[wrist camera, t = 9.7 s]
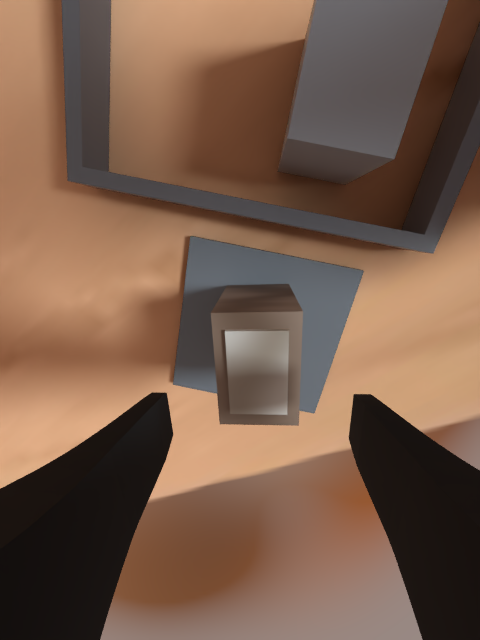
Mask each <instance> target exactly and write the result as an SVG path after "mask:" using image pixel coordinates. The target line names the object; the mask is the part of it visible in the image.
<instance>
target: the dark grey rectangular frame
mask: <svg viewBox="0 0 480 640" xmlns="http://www.w3.org/2000/svg"><path fill="white" fill-rule="evenodd" d="M62 26H63V56H64V87H65V117H66V147H67V177H68V181H71V182H75V183H79V184H83V185H87V186H91V187H95V188H99V189H104V190H109V191H114V192H119V193H124V194H129V195H134V196H139V197H145V198H150V199H155V200H160V201H165V202H170V203H175V204H180V205H185V206H190V207H195V208H200V209H205V210H210V211H215V212H220V213H225V214H230V215H235V216H240V217H245V218H250V219H255V220H260V221H265V222H270V223H275V224H280V225H285V226H290V227H295V228H300V229H305V230H310V231H315V232H320V233H325V234H330V235H335V236H340V237H345V238H350V239H355V240H360V241H365V242H370V243H375V244H380V245H385V246H390V247H396V248H401V249H406V250H412V251H419V252H426V253H434V251H435V248H436V246H437V244H438V241H439V239H440V237H441V234H442V232H443V230H444V227H445V225H446V223H447V220H448V218H449V216H450V213H451V211H452V209H453V206H454V204H455V202H456V199H457V197H458V195H459V192H460V190H461V188H462V185H463V183H464V181H465V178H466V176H467V174H468V171H469V169H470V167H471V164H472V162H473V160H474V157H475V155H476V153H477V150H478V148H479V145H480V23H479V26H478V28H477V31H476V34H475V36H474V39H473V42H472V44H471V47H470V50H469V52H468V55H467V58H466V60H465V63H464V66H463V68H462V71H461V74H460V76H459V79H458V82H457V84H456V87H455V89H454V92H453V95H452V97H451V100H450V103H449V105H448V108H447V111H446V113H445V116H444V119H443V121H442V124H441V127H440V129H439V132H438V135H437V137H436V140H435V143H434V145H433V148H432V151H431V153H430V156H429V159H428V161H427V164H426V167H425V169H424V172H423V174H422V177H421V180H420V182H419V185H418V188H417V190H416V193H415V196H414V198H413V201H412V204H411V206H410V209H409V212H408V214H407V217H406V220H405V222H404V225H403V228H402V230H398V229H393V228H388V227H383V226H378V225H373V224H368V223H363V222H358V221H353V220H348V219H343V218H338V217H333V216H328V215H322V214H317V213H312V212H307V211H302V210H297V209H292V208H287V207H282V206H277V205H272V204H267V203H262V202H257V201H252V200H247V199H242V198H237V197H232V196H227V195H222V194H217V193H212V192H207V191H202V190H197V189H192V188H187V187H182V186H177V185H171V184H166V183H161V182H156V181H151V180H146V179H141V178H136V177H131V176H126V175H121V174H116V173H111V172H109V105H110V35H111V0H62Z"/></svg>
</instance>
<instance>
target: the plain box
mask: <svg viewBox="0 0 480 640" xmlns="http://www.w3.org/2000/svg"><path fill="white" fill-rule="evenodd" d="M447 3H448V0H314V3H313V7H312V12H311V16H310V20H309V24H308V29H307V33H306V37H305V42H304V47H303V51H302V56H301V61H300V66H299V71H298V75H297V80H296V85H295V90H294V95H293V99H292V104H291V109H290V114H289V119H288V123H287V128H286V133H285V138H284V143H283V147H282V152H281V157H280V162H279V167H278V172H283V173H288V174H293V175H299V176H304V177H309V178H314V179H319V180H324V181H329V182H334V183H339V184H344V185H346V184H348V183H349V182H351V181H353V180H355V179H357V178H359V177H361V176H363V175H365V174H367V173H369V172H371V171H373V170H375V169H376V168H378V167H380V166H382V165H384V164H386V163H388V162H390V161H392V160H394V159H395V156H396V153H397V150H398V147H399V144H400V141H401V138H402V135H403V133H404V130H405V127H406V124H407V121H408V118H409V115H410V112H411V109H412V106H413V103H414V100H415V97H416V94H417V91H418V88H419V85H420V82H421V79H422V76H423V73H424V71H425V68H426V65H427V62H428V59H429V56H430V53H431V50H432V47H433V44H434V41H435V38H436V35H437V32H438V29H439V26H440V23H441V20H442V17H443V14H444V11H445V8H446V6H447Z"/></svg>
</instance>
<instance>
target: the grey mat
mask: <svg viewBox="0 0 480 640" xmlns="http://www.w3.org/2000/svg"><path fill="white" fill-rule="evenodd" d="M363 272H364V271H363V270H359V269H354V268H349V267H344V266H339V265H334V264H329V263H324V262H319V261H314V260H309V259H304V258H299V257H294V256H289V255H284V254H279V253H274V252H269V251H264V250H259V249H254V248H249V247H244V246H239V245H234V244H229V243H224V242H219V241H214V240H209V239H204V238H199V237H194V236H190V244H189V252H188V261H187V270H186V278H185V287H184V295H183V304H182V312H181V321H180V329H179V338H178V346H177V355H176V363H175V372H174V381H173V385H178V386H183V387H187V388H192V389H197V390H202V391H207V392H212V393H217V383H216V371H215V359H214V346H213V334H212V322H211V312H212V310H213V308H214V307H215V305H216V303H217V302H218V300H219V298H220V297H221V295H222V293H223V292H224V290H225V288H226V286H227V285H260V284H289V285H290V287H291V289H292V291H293V293H294V295H295V297H296V299H297V301H298V303H299V304H300V306H301V308H302V310H303V326H302V352H301V378H300V404H299V410H300V411H305V412H310V413H315V410H316V407H317V404H318V401H319V399H320V396H321V393H322V390H323V387H324V384H325V381H326V378H327V376H328V373H329V370H330V367H331V364H332V361H333V358H334V355H335V353H336V350H337V347H338V344H339V341H340V338H341V335H342V332H343V330H344V327H345V324H346V321H347V318H348V315H349V312H350V309H351V307H352V304H353V301H354V298H355V295H356V292H357V289H358V286H359V284H360V281H361V278H362V275H363Z"/></svg>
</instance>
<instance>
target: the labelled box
mask: <svg viewBox="0 0 480 640" xmlns="http://www.w3.org/2000/svg"><path fill="white" fill-rule="evenodd" d="M211 322H212V334H213V346H214V359H215V371H216V383H217V395H218V408H219V420H220V424H243V425H298V426H299V404H300V378H301V352H302V326H303V310H302V308H301V306H300V304H299V303H298V301H297V299H296V297H295V295H294V293H293V291H292V289H291V287H290V285H289V284H260V285H227V286H226V288H225V290H224V292H223V293H222V295H221V297H220V298H219V300H218V302H217V303H216V305H215V307H214V308H213V310H212V312H211Z"/></svg>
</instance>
